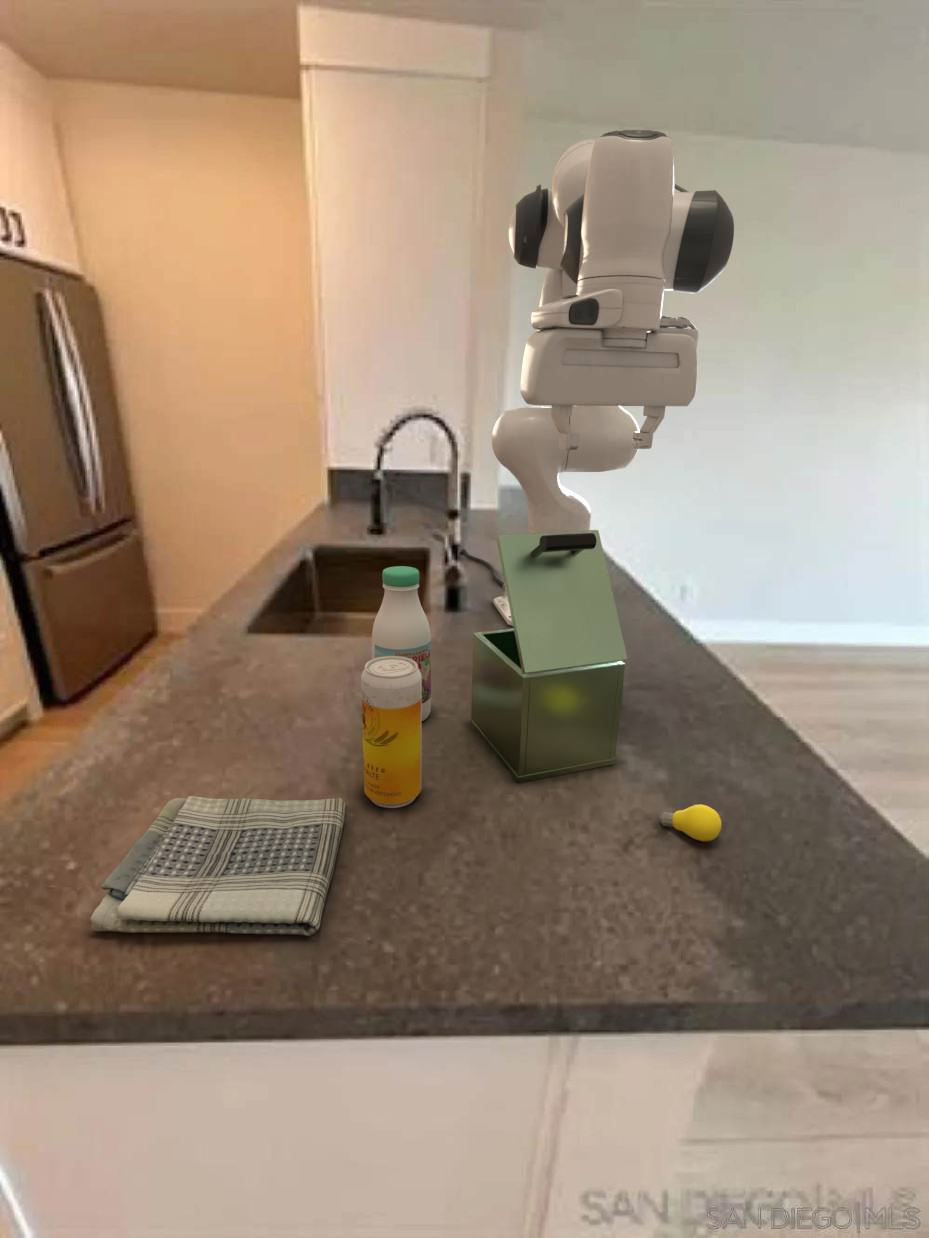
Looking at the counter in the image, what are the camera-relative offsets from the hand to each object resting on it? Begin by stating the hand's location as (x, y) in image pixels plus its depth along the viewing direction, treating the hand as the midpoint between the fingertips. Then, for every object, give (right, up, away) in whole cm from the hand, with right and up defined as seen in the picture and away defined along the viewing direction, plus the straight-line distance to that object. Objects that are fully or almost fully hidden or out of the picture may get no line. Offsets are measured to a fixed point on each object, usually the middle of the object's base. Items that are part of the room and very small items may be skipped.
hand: (605, 449), depth 75 cm
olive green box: (-6, -34, +9) cm, 36 cm away
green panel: (-5, -17, 0) cm, 17 cm away
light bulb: (+7, -40, -8) cm, 42 cm away
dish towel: (-37, -42, -14) cm, 57 cm away
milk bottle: (-24, -32, +15) cm, 43 cm away
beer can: (-23, -38, -3) cm, 45 cm away
